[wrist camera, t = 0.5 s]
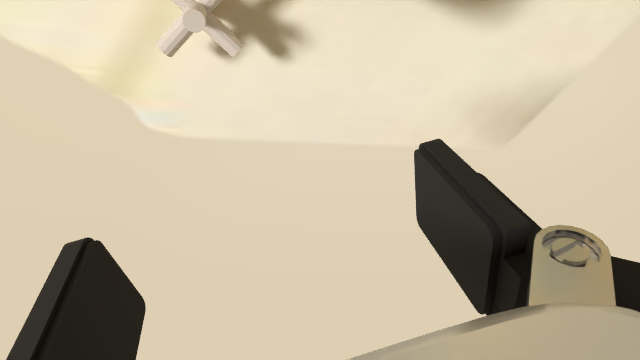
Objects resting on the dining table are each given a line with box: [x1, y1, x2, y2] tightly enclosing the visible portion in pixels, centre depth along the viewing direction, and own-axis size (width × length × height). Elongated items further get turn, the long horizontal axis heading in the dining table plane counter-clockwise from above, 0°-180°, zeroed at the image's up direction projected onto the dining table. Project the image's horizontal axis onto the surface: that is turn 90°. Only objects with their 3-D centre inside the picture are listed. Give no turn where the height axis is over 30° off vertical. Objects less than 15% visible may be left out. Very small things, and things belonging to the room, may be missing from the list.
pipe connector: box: [156, 0, 244, 57], centre depth 35 cm, size 10×10×10 cm
